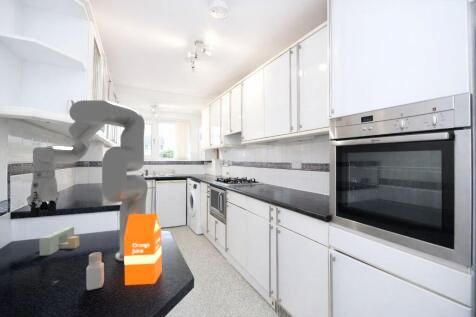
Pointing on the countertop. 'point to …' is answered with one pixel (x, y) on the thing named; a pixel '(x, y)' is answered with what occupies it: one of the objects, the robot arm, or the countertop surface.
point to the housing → (54, 240)
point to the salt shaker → (95, 271)
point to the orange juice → (142, 249)
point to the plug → (70, 243)
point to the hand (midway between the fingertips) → (44, 214)
